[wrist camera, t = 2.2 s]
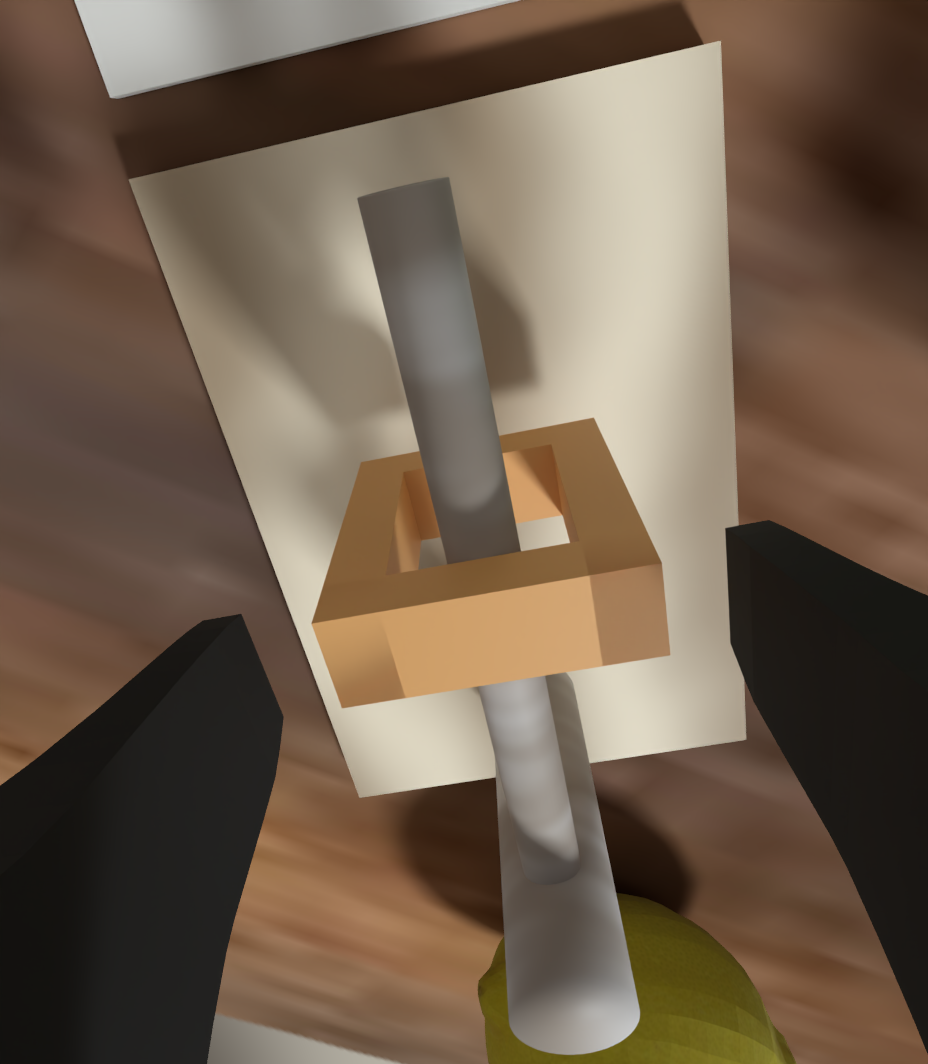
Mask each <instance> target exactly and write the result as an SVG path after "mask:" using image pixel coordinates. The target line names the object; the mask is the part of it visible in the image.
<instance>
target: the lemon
mask: <svg viewBox="0 0 928 1064" xmlns="http://www.w3.org/2000/svg"><path fill="white" fill-rule="evenodd" d="M616 896H617V901H618V905H619V910H620V915H621V920H622V925H623V930H624V935H625V940H626V945H627V950H628V955H629V960H630V964H631V969H632V974H633V979H634V984H635V989H636V994H637V999H638V1004H639V1009H640V1019H639V1022H638V1024H637V1026H636V1028H635V1029H634V1031H633V1032H632V1033H631V1034H630V1035H629V1036H628V1037H627V1038H625V1039H624V1040H622V1041H621V1042H619V1043H617V1044H615V1045H614V1046H611V1047H609V1048H606V1049H603V1050H600V1051H596V1052H592V1053H586V1054H576V1055H563V1054H554V1053H548V1052H544V1051H540V1050H537V1049H535V1048H532V1047H530V1046H528V1045H526V1044H525V1043H523V1042H522V1041H521V1040H519V1039H518V1038H517V1037H516V1036H515V1035H514V1033H513V1032H512V1030H511V1028H510V1024H509V1014H508V995H507V976H506V958H505V939H504V937H503V939H502V940H501V942H500V943H499V945H498V948H497V950H496V953H495V955H494V958H493V961H492V964H491V967H490V968H489V970H488V971H487V972H486V973H485V974H484V975H483V976H482V978H481V979H480V980H479V983H478V997H479V1002H480V1006H481V1010H482V1013H483V1015H484V1017H485V1036H486V1048H487V1055H488V1062H489V1064H796V1062H795V1059H794V1057H793V1055H792V1053H791V1051H790V1049H789V1047H788V1045H787V1042H786V1040H785V1038H784V1036H783V1035H782V1034H781V1033H780V1032H778V1030H777V1029H776V1028H775V1027H774V1025H773V1024H772V1022H771V1020H770V1018H769V1016H768V1014H767V1011H766V1009H765V1007H764V1004H763V1002H762V999H761V997H760V995H759V993H758V992H757V990H756V988H755V986H754V985H753V983H752V981H751V980H750V978H749V977H748V975H747V973H746V972H745V970H744V969H743V967H742V966H741V965H740V964H739V963H738V962H737V961H736V959H735V958H734V957H733V956H732V955H731V954H730V953H729V952H728V951H727V950H726V949H725V948H724V947H723V946H722V945H721V944H720V943H719V942H717V941H716V940H715V939H714V938H713V937H712V936H711V935H710V934H709V933H708V932H707V931H705V930H704V929H702V928H701V927H699V926H698V925H696V924H695V923H694V922H692V921H691V920H689V919H687V918H685V917H683V916H681V915H679V914H677V913H675V912H673V911H672V910H670V909H668V908H667V907H665V906H663V905H661V904H659V903H656V902H654V901H651V900H649V899H646V898H643V897H637V896H632V895H627V894H620V893H616Z"/></svg>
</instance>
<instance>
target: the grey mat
mask: <svg viewBox="0 0 928 1064" xmlns="http://www.w3.org/2000/svg"><path fill="white" fill-rule="evenodd" d="M74 1H75V3H76V6H77V9H78V12H79V14H80V17H81V20H82V23H83V25H84V28H85V31H86V33H87V36H88V39H89V42H90V44H91V47H92V50H93V52H94V55H95V58H96V61H97V63H98V66H99V69H100V72H101V74H102V77H103V80H104V82H105V85H106V88H107V91H108V93H109V96H110V98H115V99H119V98H123V97H128V96H132V95H136V94H140V93H144V92H148V91H152V90H156V89H160V88H164V87H168V86H172V85H177V84H181V83H185V82H189V81H193V80H197V79H201V78H205V77H209V76H213V75H217V74H221V73H225V72H230V71H234V70H238V69H242V68H246V67H250V66H254V65H258V64H262V63H266V62H270V61H274V60H279V59H283V58H287V57H291V56H295V55H299V54H303V53H307V52H311V51H315V50H319V49H323V48H328V47H332V46H336V45H340V44H344V43H348V42H352V41H356V40H360V39H364V38H368V37H372V36H376V35H381V34H385V33H389V32H393V31H397V30H401V29H405V28H409V27H413V26H417V25H421V24H425V23H430V22H434V21H438V20H442V19H446V18H450V17H454V16H458V15H462V14H466V13H470V12H474V11H478V10H483V9H487V8H491V7H495V6H499V5H503V4H507V3H511V2H515V1H519V0H74Z"/></svg>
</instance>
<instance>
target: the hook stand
mask: <svg viewBox="0 0 928 1064" xmlns="http://www.w3.org/2000/svg"><path fill="white" fill-rule="evenodd" d="M129 182H130V185H131V187H132V190H133V193H134V196H135V198H136V201H137V204H138V206H139V209H140V212H141V214H142V217H143V220H144V222H145V225H146V228H147V230H148V233H149V236H150V238H151V241H152V244H153V246H154V249H155V252H156V254H157V257H158V260H159V262H160V265H161V268H162V270H163V273H164V276H165V278H166V281H167V284H168V286H169V289H170V292H171V294H172V297H173V300H174V302H175V305H176V308H177V311H178V313H179V316H180V319H181V321H182V324H183V327H184V329H185V332H186V335H187V337H188V340H189V343H190V345H191V348H192V351H193V353H194V356H195V359H196V361H197V364H198V367H199V369H200V372H201V375H202V377H203V380H204V383H205V385H206V388H207V391H208V393H209V396H210V399H211V401H212V404H213V407H214V409H215V412H216V415H217V417H218V420H219V423H220V426H221V428H222V431H223V434H224V436H225V439H226V442H227V444H228V447H229V450H230V452H231V455H232V458H233V460H234V463H235V466H236V468H237V471H238V474H239V476H240V479H241V482H242V484H243V487H244V490H245V492H246V495H247V498H248V500H249V503H250V506H251V508H252V511H253V514H254V516H255V519H256V522H257V524H258V527H259V530H260V532H261V535H262V538H263V541H264V543H265V546H266V549H267V551H268V554H269V557H270V559H271V562H272V565H273V567H274V570H275V573H276V575H277V578H278V581H279V583H280V586H281V589H282V591H283V594H284V597H285V599H286V602H287V605H288V607H289V610H290V613H291V615H292V618H293V621H294V623H295V626H296V629H297V631H298V634H299V637H300V639H301V642H302V645H303V647H304V650H305V653H306V656H307V658H308V661H309V664H310V666H311V669H312V672H313V674H314V677H315V680H316V682H317V685H318V688H319V690H320V693H321V696H322V698H323V701H324V704H325V706H326V709H327V712H328V714H329V717H330V720H331V722H332V725H333V728H334V730H335V733H336V736H337V738H338V741H339V744H340V746H341V749H342V752H343V754H344V757H345V760H346V762H347V765H348V768H349V771H350V773H351V776H352V779H353V781H354V784H355V787H356V789H357V792H358V795H359V797H360V798H361V797H368V796H375V795H381V794H388V793H395V792H401V791H408V790H415V789H421V788H428V787H434V786H441V785H448V784H454V783H461V782H468V781H474V780H481V779H488V778H494V777H496V789H497V807H498V826H499V845H500V864H501V883H502V901H503V920H504V939H505V958H506V976H507V995H508V1014H509V1024H510V1028H511V1030H512V1032H513V1033H514V1035H515V1036H516V1037H517V1038H518V1039H519V1040H521V1041H522V1042H523V1043H525V1044H526V1045H528V1046H530V1047H532V1048H535V1049H537V1050H540V1051H544V1052H548V1053H554V1054H563V1055H576V1054H586V1053H592V1052H596V1051H600V1050H603V1049H606V1048H609V1047H611V1046H614V1045H615V1044H617V1043H619V1042H621V1041H622V1040H624V1039H625V1038H627V1037H628V1036H629V1035H630V1034H631V1033H632V1032H633V1031H634V1029H635V1028H636V1026H637V1024H638V1022H639V1019H640V1009H639V1004H638V999H637V994H636V989H635V984H634V979H633V974H632V969H631V964H630V960H629V955H628V950H627V945H626V940H625V935H624V930H623V925H622V920H621V915H620V910H619V905H618V901H617V896H616V891H615V886H614V881H613V876H612V871H611V866H610V861H609V856H608V851H607V846H606V842H605V837H604V832H603V827H602V822H601V817H600V812H599V807H598V802H597V797H596V792H595V787H594V783H593V778H592V773H591V768H590V763H594V762H601V761H608V760H614V759H621V758H628V757H634V756H641V755H647V754H654V753H661V752H667V751H674V750H681V749H687V748H694V747H701V746H707V745H714V744H721V743H727V742H734V741H741V740H746V720H745V692H744V677H743V674H742V672H741V669H740V667H739V664H738V662H737V659H736V656H735V654H734V651H733V649H732V646H731V644H730V623H729V601H728V579H727V557H726V535H725V528H728V527H734V526H738V501H737V473H736V446H735V418H734V391H733V364H732V336H731V309H730V281H729V254H728V226H727V199H726V172H725V144H724V117H723V89H722V62H721V41H717V42H713V43H709V44H705V45H700V46H696V47H692V48H688V49H683V50H679V51H675V52H671V53H666V54H662V55H658V56H653V57H649V58H645V59H641V60H636V61H632V62H628V63H624V64H619V65H615V66H611V67H607V68H602V69H598V70H594V71H589V72H585V73H581V74H577V75H572V76H568V77H564V78H560V79H555V80H551V81H547V82H543V83H538V84H534V85H530V86H525V87H521V88H517V89H513V90H508V91H504V92H500V93H496V94H491V95H487V96H483V97H478V98H474V99H470V100H466V101H461V102H457V103H453V104H449V105H444V106H440V107H436V108H432V109H427V110H423V111H419V112H414V113H410V114H406V115H402V116H397V117H393V118H389V119H385V120H380V121H376V122H372V123H368V124H363V125H359V126H355V127H350V128H346V129H342V130H338V131H333V132H329V133H325V134H321V135H316V136H312V137H308V138H304V139H299V140H295V141H291V142H286V143H282V144H278V145H274V146H269V147H265V148H261V149H257V150H252V151H248V152H244V153H240V154H235V155H231V156H227V157H222V158H218V159H214V160H210V161H205V162H201V163H197V164H193V165H188V166H184V167H180V168H176V169H171V170H167V171H163V172H158V173H154V174H150V175H146V176H141V177H137V178H133V179H129ZM589 418H594V419H595V421H596V423H597V425H598V427H599V430H600V432H601V434H602V436H603V438H604V440H605V442H606V445H607V447H608V449H609V451H610V453H611V455H612V457H613V459H614V462H615V464H616V466H617V468H618V470H619V472H620V474H621V477H622V479H623V481H624V483H625V485H626V487H627V489H628V492H629V494H630V496H631V498H632V500H633V502H634V504H635V506H636V509H637V511H638V513H639V515H640V517H641V519H642V521H643V524H644V526H645V528H646V530H647V532H648V534H649V536H650V539H651V541H652V543H653V545H654V547H655V549H656V551H657V553H658V556H659V558H660V560H661V562H662V569H663V579H664V590H665V601H666V612H667V623H668V633H669V644H670V655H669V656H663V657H657V658H651V659H645V660H639V661H632V662H626V663H620V664H614V665H608V666H601V667H595V668H589V669H583V670H577V671H571V672H564V673H558V674H552V675H546V676H540V677H533V678H527V679H521V680H515V681H509V682H503V683H496V684H490V685H484V686H478V687H472V688H466V689H459V690H453V691H447V692H441V693H435V694H428V695H422V696H416V697H410V698H404V699H398V700H391V701H385V702H379V703H373V704H367V705H360V706H354V707H348V708H342V707H341V704H340V702H339V699H338V696H337V693H336V690H335V688H334V685H333V682H332V679H331V677H330V674H329V671H328V668H327V666H326V663H325V660H324V657H323V654H322V652H321V649H320V646H319V643H318V641H317V638H316V635H315V632H314V630H313V627H312V624H311V623H312V620H313V617H314V614H315V610H316V607H317V604H318V601H319V597H320V594H321V591H322V588H323V584H324V581H325V578H326V575H327V571H328V568H329V565H330V562H331V558H332V555H333V552H334V549H335V545H336V542H337V539H338V536H339V532H340V529H341V526H342V523H343V519H344V516H345V513H346V509H347V506H348V503H349V500H350V496H351V493H352V490H353V487H354V483H355V480H356V477H357V474H358V470H359V467H360V464H361V462H365V461H370V460H375V459H381V458H386V457H391V456H396V455H401V454H407V453H412V452H417V451H420V455H421V459H422V463H423V467H424V471H425V475H426V479H427V483H428V487H429V491H430V495H431V499H432V503H433V507H434V511H435V515H436V520H437V524H438V528H439V532H440V536H441V537H439V538H434V539H428V540H423V541H421V548H420V558H419V568H418V570H419V569H425V568H430V567H436V566H442V565H447V564H453V563H459V562H464V561H470V560H476V559H481V558H487V557H492V556H498V555H504V554H509V553H515V552H521V551H526V550H532V549H538V548H543V547H549V546H554V545H560V544H566V543H570V541H569V538H568V534H567V530H566V526H565V523H564V519H563V515H561V516H555V517H550V518H544V519H539V520H533V521H528V522H522V523H517V524H516V522H515V517H514V512H513V506H512V501H511V496H510V491H509V486H508V480H507V475H506V470H505V465H504V460H503V454H502V449H501V444H500V439H499V436H500V435H505V434H511V433H516V432H521V431H526V430H531V429H537V428H542V427H547V426H552V425H557V424H563V423H568V422H573V421H578V420H583V419H589Z"/></svg>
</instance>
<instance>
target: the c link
mask: <svg viewBox="0 0 928 1064" xmlns="http://www.w3.org/2000/svg"><path fill="white" fill-rule="evenodd" d="M499 439H500V444H501V449H502V454H503V460H504V465H505V470H506V475H507V480H508V486H509V491H510V496H511V501H512V506H513V512H514V517H515V522H516V524H517V523H522V522H528V521H533V520H539V519H544V518H550V517H555V516H561V515H563V519H564V523H565V526H566V530H567V534H568V538H569V541H570V543H566V544H560V545H554V546H549V547H543V548H538V549H532V550H526V551H521V552H515V553H509V554H504V555H498V556H492V557H487V558H481V559H476V560H470V561H464V562H459V563H453V564H447V565H442V566H436V567H430V568H425V569H419V570H418V568H419V558H420V548H421V541H423V540H428V539H434V538H439V537H441V536H440V532H439V528H438V524H437V520H436V515H435V511H434V507H433V503H432V499H431V495H430V491H429V487H428V483H427V479H426V475H425V471H424V467H423V463H422V459H421V455H420V451H417V452H412V453H407V454H401V455H396V456H391V457H386V458H381V459H375V460H370V461H365V462H361V464H360V467H359V470H358V474H357V477H356V480H355V483H354V487H353V490H352V493H351V496H350V500H349V503H348V506H347V509H346V513H345V516H344V519H343V523H342V526H341V529H340V532H339V536H338V539H337V542H336V545H335V549H334V552H333V555H332V558H331V562H330V565H329V568H328V571H327V575H326V578H325V581H324V584H323V588H322V591H321V594H320V597H319V601H318V604H317V607H316V610H315V614H314V617H313V620H312V623H311V624H312V627H313V630H314V632H315V635H316V638H317V641H318V643H319V646H320V649H321V652H322V654H323V657H324V660H325V663H326V666H327V668H328V671H329V674H330V677H331V679H332V682H333V685H334V688H335V690H336V693H337V696H338V699H339V702H340V704H341V707H342V708H348V707H354V706H360V705H367V704H373V703H379V702H385V701H391V700H398V699H404V698H410V697H416V696H422V695H428V694H435V693H441V692H447V691H453V690H459V689H466V688H472V687H478V686H484V685H490V684H496V683H503V682H509V681H515V680H521V679H527V678H533V677H540V676H546V675H552V674H558V673H564V672H571V671H577V670H583V669H589V668H595V667H601V666H608V665H614V664H620V663H626V662H632V661H639V660H645V659H651V658H657V657H663V656H669V655H670V644H669V633H668V623H667V612H666V601H665V590H664V579H663V569H662V562H661V560H660V558H659V556H658V553H657V551H656V549H655V547H654V545H653V543H652V541H651V539H650V536H649V534H648V532H647V530H646V528H645V526H644V524H643V521H642V519H641V517H640V515H639V513H638V511H637V509H636V506H635V504H634V502H633V500H632V498H631V496H630V494H629V492H628V489H627V487H626V485H625V483H624V481H623V479H622V477H621V474H620V472H619V470H618V468H617V466H616V464H615V462H614V459H613V457H612V455H611V453H610V451H609V449H608V447H607V445H606V442H605V440H604V438H603V436H602V434H601V432H600V430H599V427H598V425H597V423H596V421H595V419H594V418H589V419H583V420H578V421H573V422H568V423H563V424H557V425H552V426H547V427H542V428H537V429H531V430H526V431H521V432H516V433H511V434H505V435H500V436H499Z"/></svg>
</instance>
